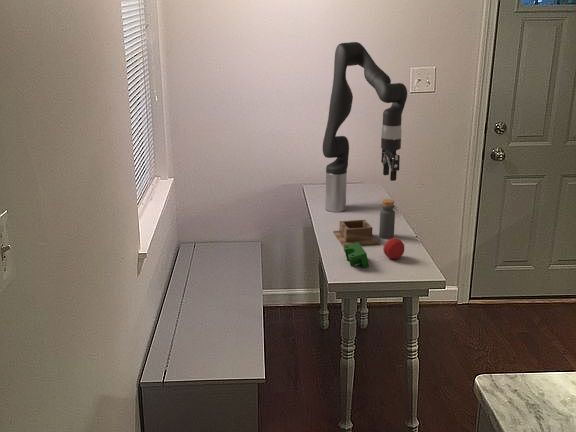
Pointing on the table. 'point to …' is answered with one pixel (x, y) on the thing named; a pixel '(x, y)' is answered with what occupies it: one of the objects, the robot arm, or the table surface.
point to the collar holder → (355, 233)
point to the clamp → (356, 255)
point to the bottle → (387, 219)
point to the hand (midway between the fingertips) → (389, 177)
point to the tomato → (394, 248)
